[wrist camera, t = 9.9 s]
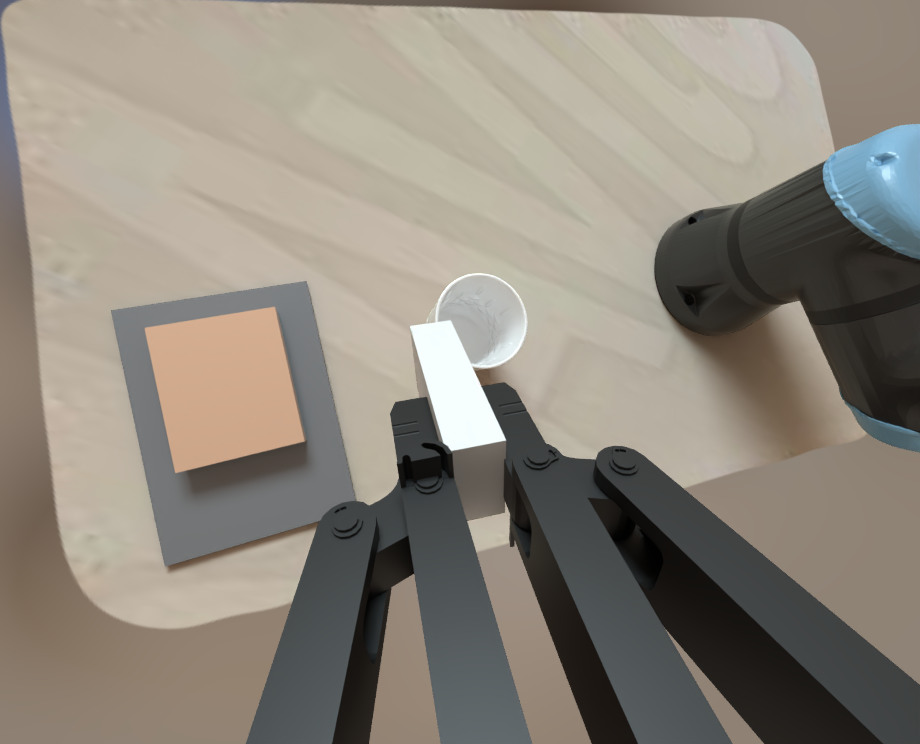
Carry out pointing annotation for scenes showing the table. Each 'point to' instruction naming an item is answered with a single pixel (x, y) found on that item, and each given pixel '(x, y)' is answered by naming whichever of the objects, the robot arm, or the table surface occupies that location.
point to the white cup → (483, 318)
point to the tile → (225, 387)
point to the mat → (249, 477)
